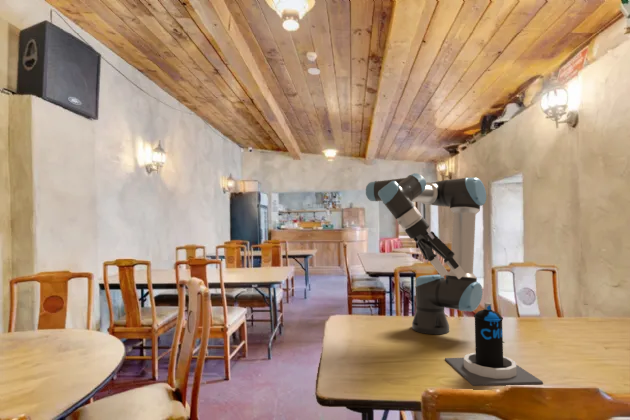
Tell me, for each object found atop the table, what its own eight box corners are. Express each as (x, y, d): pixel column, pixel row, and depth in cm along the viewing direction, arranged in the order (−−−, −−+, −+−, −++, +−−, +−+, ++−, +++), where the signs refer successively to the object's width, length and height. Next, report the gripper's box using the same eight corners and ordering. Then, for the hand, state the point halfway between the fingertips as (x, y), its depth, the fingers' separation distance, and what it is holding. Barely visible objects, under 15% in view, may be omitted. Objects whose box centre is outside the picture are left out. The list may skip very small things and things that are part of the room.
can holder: (473, 385, 104) (472, 374, 104) (445, 359, 124) (444, 350, 124) (542, 383, 105) (542, 372, 105) (503, 358, 125) (503, 349, 125)
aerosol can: (469, 364, 118) (468, 300, 119) (494, 363, 119) (493, 300, 120) (483, 374, 110) (482, 306, 111) (510, 373, 111) (508, 305, 112)
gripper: (394, 232, 136) (430, 280, 134) (416, 226, 111) (460, 284, 109) (410, 220, 136) (446, 267, 135) (435, 211, 112) (480, 269, 110)
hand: (453, 275), depth 122 cm, fingers open, 13 cm apart
